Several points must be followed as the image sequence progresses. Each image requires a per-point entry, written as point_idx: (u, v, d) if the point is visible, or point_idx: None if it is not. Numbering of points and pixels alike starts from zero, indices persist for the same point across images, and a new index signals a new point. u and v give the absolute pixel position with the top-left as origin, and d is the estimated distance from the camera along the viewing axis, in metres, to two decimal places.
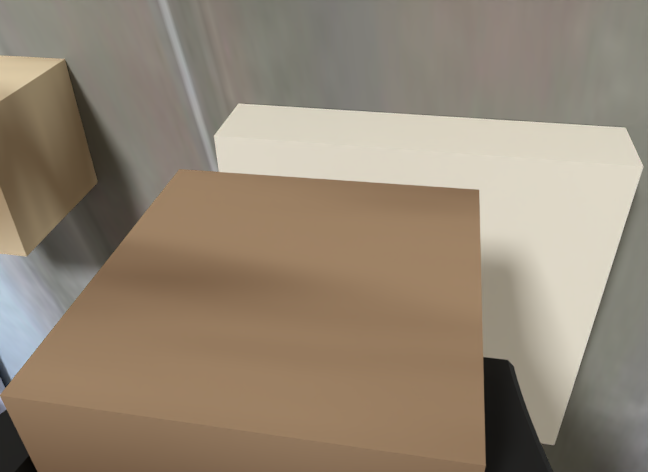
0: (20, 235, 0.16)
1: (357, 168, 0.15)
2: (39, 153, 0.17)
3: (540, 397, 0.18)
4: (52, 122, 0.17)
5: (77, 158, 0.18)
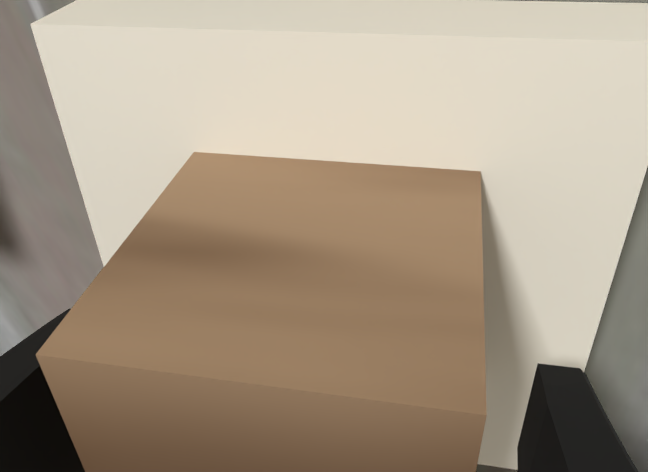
0: None
1: (243, 68, 0.10)
2: None
3: None
4: None
5: None
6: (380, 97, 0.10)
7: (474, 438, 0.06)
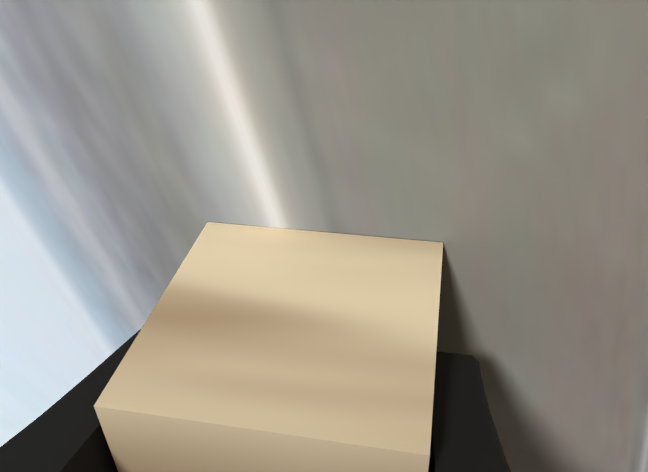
0: None
1: None
2: None
3: None
4: None
5: None
6: None
7: None
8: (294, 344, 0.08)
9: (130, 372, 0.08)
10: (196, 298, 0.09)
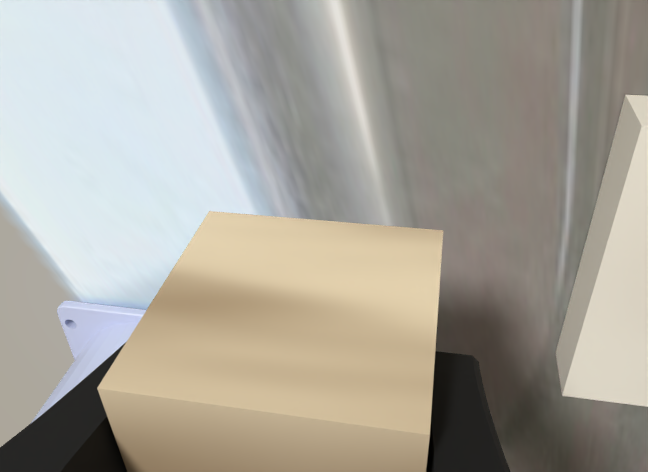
0: None
1: None
2: None
3: None
4: None
5: None
6: None
7: None
8: (295, 328, 0.08)
9: (133, 356, 0.08)
10: (198, 285, 0.09)
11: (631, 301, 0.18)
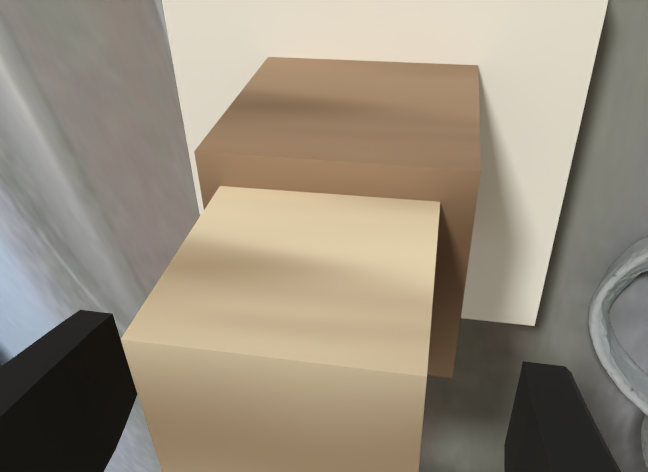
0: None
1: None
2: None
3: (517, 267, 0.17)
4: None
5: None
6: (407, 9, 0.14)
7: (473, 191, 0.10)
8: (303, 288, 0.09)
9: (153, 312, 0.09)
10: (211, 250, 0.10)
11: None
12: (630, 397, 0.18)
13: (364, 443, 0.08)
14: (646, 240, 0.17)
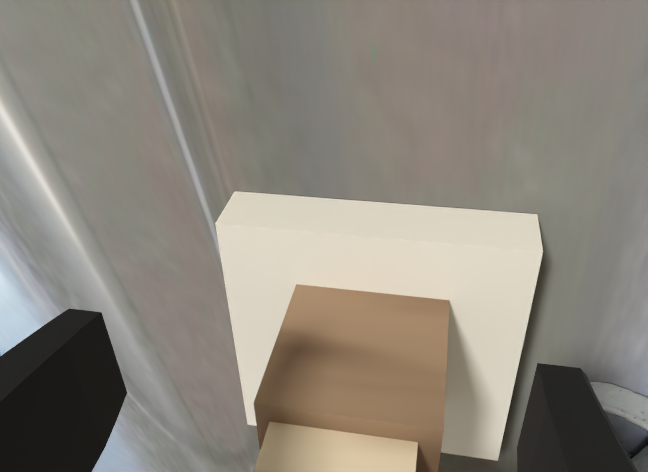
0: None
1: (327, 249, 0.19)
2: None
3: (483, 422, 0.23)
4: None
5: None
6: (397, 265, 0.19)
7: (439, 438, 0.16)
8: None
9: None
10: None
11: (264, 351, 0.23)
12: None
13: None
14: None
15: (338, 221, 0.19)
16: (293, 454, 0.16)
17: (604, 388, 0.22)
